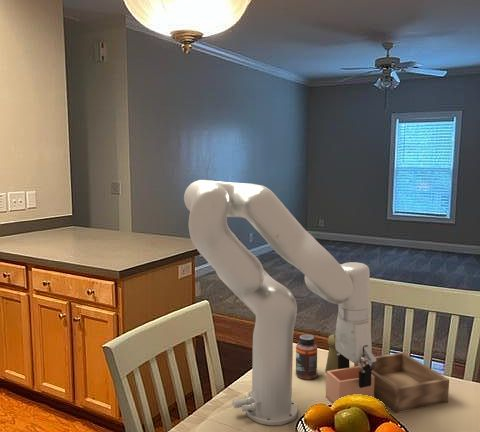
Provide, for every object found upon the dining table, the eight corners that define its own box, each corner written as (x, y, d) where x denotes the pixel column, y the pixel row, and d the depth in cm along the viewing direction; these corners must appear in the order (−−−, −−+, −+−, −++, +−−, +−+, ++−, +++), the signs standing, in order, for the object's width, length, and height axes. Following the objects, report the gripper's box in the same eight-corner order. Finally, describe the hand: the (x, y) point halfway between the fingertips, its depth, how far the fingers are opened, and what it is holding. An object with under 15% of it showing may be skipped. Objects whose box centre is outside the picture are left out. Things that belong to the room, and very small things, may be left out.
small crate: (338, 409, 118) (339, 382, 118) (325, 397, 124) (326, 371, 124) (373, 402, 122) (374, 376, 121) (359, 391, 128) (360, 365, 127)
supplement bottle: (320, 374, 138) (321, 335, 136) (311, 382, 133) (312, 342, 131) (301, 369, 141) (301, 331, 139) (291, 376, 136) (292, 337, 134)
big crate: (394, 413, 117) (395, 389, 116) (353, 380, 134) (354, 359, 133) (447, 402, 122) (449, 379, 122) (401, 372, 139) (402, 352, 138)
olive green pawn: (346, 378, 135) (348, 340, 134) (324, 376, 136) (326, 338, 135) (346, 368, 141) (347, 332, 140) (325, 366, 142) (326, 330, 141)
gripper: (323, 304, 127) (323, 366, 130) (360, 326, 111) (360, 396, 113) (348, 300, 130) (348, 361, 132) (388, 321, 114) (387, 390, 116)
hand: (354, 377), depth 123 cm, fingers open, 9 cm apart
